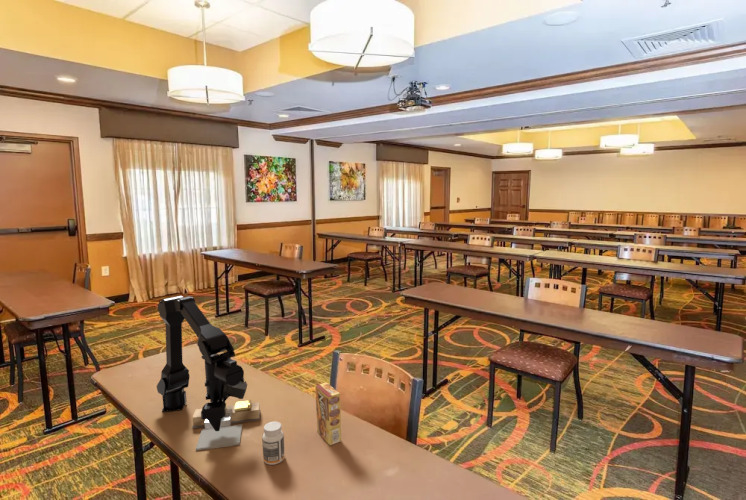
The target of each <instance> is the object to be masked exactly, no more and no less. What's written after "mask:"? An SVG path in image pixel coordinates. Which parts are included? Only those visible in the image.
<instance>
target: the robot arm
mask: <svg viewBox="0 0 746 500" xmlns="http://www.w3.org/2000/svg"><path fill="white" fill-rule="evenodd" d="M157 311H158V312H159V317H160V318H161V320H162V321H163V322H164V324H165V349H166V351H165V353H166V355H165V356H166V360H165V361H166V363H165V365H164V367H163V368H162V370H161V371H160V373H161V374H160V379H159V381H158V383H157V385H156V390H157V393H158V394H159V395H161V396H162V405H163V406H162V407H163V408H162V410H161V412H162V413H165V412H174V411H182V410H184V407H185V406H186V404H187V392H186V390H185V389H186V388H189V383H190V373H189V372H190V370H189V369H188V368H187V367H186V366H185V364H184V362H183V327H182V326H183V322H184V321H186V322H187V324H188V325H189V327H190V328H191V329H192V331H193V332H194V334H195V335H196V337H197V344H196V345H197V347H198V350H199V352H200V354H201V355H202V356H201V359H202V360H204V369H205V371H204V372H205V382H204V387H205V388H206V395H205V401H207V400H208V401H209V400H210V402H205V404H204V405H203V406H202V408H201V409H202V411H201V419H207V420H208V421H209V423H210V424H211V425H212V427H213V428H214V430H215V431H219V430H220V424H221V417H224V416H225V413H226V410H227V408H226V406H227V403H226V401H227V399H228V398H229V397H233V398H236V399H239V400H244V397H245V395H246V391H247V387H248V383H247V381H245V377H244V376H245V370H244V369H243V366H241V365H239V364H238V361H237V360H234V359H232V358H233V357H236V353H235V348H234V346H233V344H232V343H231V341H230V339H229V336H228V335H227V334H226V333H225V332H224V331H223V330H222V329H221V328H219V327H218V326H214V325H212V324H211V322H210V321H209V320H208V318H207V317H206V316H205V314H204V313H203V312H202V310H201V309H200V308H199V306H198V305H197V303H196V300H195V297H193V296H189V295H188V296H185V297H184V296H182V295H176V296H172V297H167V298H162V299H161V300H160V301H159V302H158V304H157Z"/></svg>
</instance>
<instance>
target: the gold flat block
mask: <svg viewBox="0 0 746 500" xmlns="http://www.w3.org/2000/svg"><path fill="white" fill-rule="evenodd" d="M251 403H252V400H251V399H249V400H241V401H236V402H235V404H234V405H235V411H239V410H247V409H248V410H249V409H250V408H251Z"/></svg>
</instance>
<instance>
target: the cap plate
mask: <svg viewBox="0 0 746 500" xmlns="http://www.w3.org/2000/svg"><path fill="white" fill-rule="evenodd" d="M232 415H233V412H232V409H227V410H226V413H225V416H224V417H221V424H220V427H227V426H232V424H231V420H232ZM211 428H213V427H212V425H211V424H210V423H209V421H208V420H207V419H206V420H205V427H204V429H211Z"/></svg>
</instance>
